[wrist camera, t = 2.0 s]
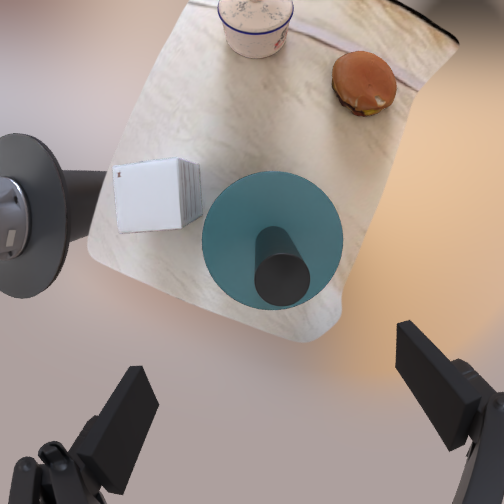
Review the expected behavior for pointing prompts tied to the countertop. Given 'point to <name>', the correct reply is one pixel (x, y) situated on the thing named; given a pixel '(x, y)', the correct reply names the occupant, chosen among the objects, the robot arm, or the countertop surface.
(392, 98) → the burger
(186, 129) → the countertop surface
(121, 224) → the white packaging box
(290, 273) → the tin lid
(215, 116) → the countertop surface
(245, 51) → the teacup with lid
